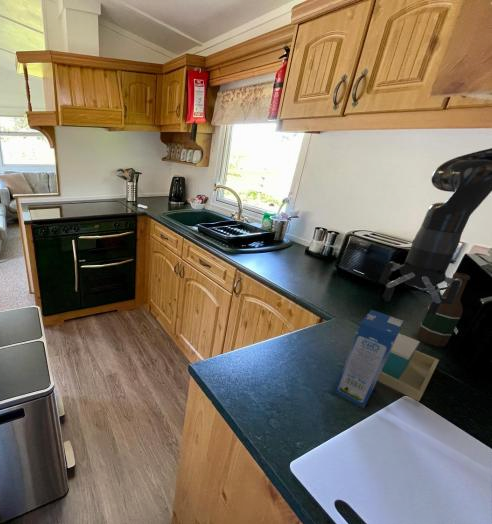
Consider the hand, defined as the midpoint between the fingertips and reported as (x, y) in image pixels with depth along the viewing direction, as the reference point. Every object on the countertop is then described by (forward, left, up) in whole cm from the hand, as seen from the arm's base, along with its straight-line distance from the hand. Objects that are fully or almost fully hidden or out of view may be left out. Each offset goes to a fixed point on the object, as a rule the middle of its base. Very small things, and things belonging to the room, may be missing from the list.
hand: (406, 307), depth 74 cm
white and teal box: (-2, -2, -19) cm, 19 cm away
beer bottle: (-6, -32, -20) cm, 38 cm away
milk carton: (+1, +17, -20) cm, 26 cm away
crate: (-2, -2, -19) cm, 19 cm away
